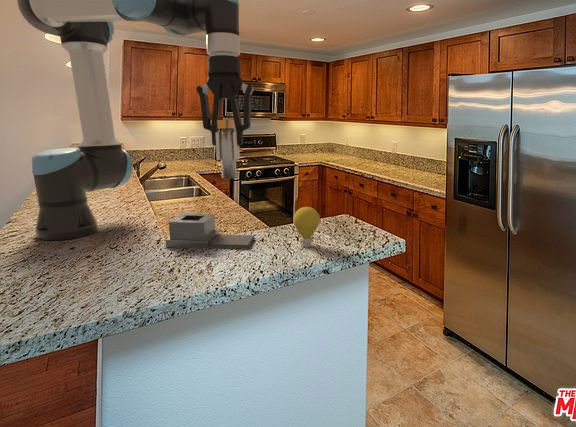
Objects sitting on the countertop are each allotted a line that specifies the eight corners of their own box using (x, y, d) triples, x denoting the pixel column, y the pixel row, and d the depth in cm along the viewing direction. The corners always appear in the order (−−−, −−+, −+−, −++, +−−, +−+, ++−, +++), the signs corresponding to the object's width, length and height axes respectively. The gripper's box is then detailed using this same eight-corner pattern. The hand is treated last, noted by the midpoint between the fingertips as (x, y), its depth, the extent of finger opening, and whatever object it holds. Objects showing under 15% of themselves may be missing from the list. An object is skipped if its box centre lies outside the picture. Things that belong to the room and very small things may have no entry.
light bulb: (303, 251, 89) (303, 211, 86) (288, 244, 94) (288, 206, 92) (324, 246, 92) (325, 208, 90) (309, 239, 98) (309, 203, 95)
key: (231, 180, 86) (229, 120, 83) (216, 180, 87) (213, 120, 83) (240, 175, 95) (238, 120, 92) (226, 175, 95) (224, 120, 92)
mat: (208, 247, 92) (208, 243, 91) (217, 237, 99) (217, 234, 99) (248, 248, 91) (247, 245, 90) (254, 238, 98) (254, 235, 98)
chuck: (166, 247, 92) (163, 222, 90) (181, 235, 102) (179, 212, 100) (208, 248, 91) (207, 223, 89) (219, 236, 101) (218, 213, 99)
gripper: (262, 58, 87) (264, 157, 92) (194, 60, 88) (200, 157, 94) (256, 52, 80) (259, 161, 85) (182, 54, 81) (190, 160, 87)
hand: (228, 159), depth 90 cm, fingers closed on key, 4 cm apart
